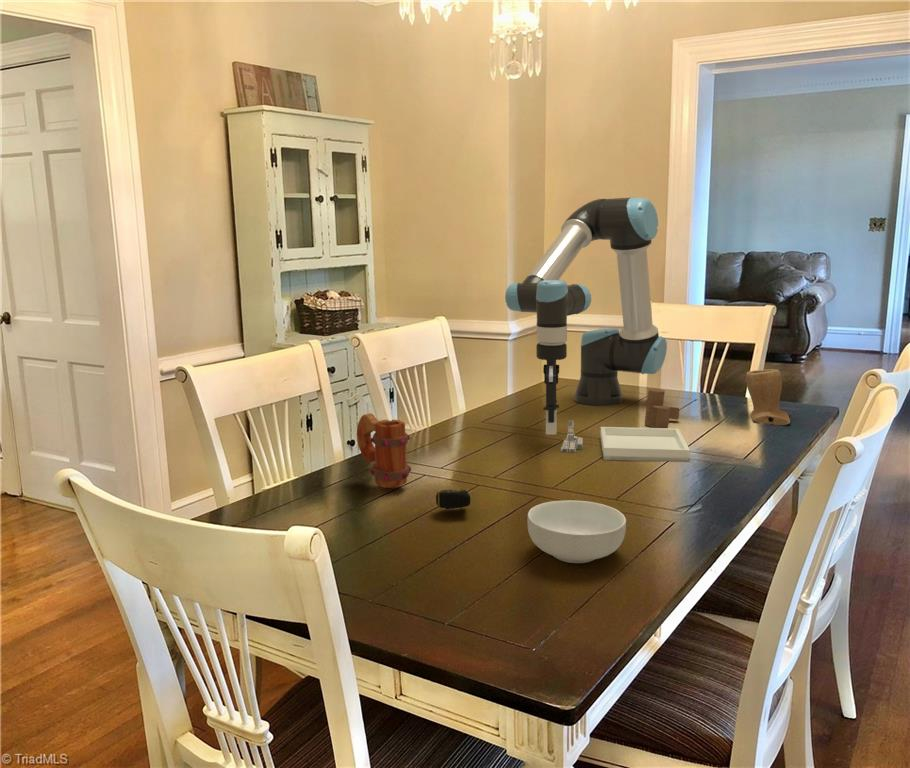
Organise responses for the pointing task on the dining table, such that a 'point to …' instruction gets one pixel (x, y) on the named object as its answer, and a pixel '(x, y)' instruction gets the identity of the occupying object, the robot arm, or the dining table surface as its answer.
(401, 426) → the mug
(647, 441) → the tray
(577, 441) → the house of cards
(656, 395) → the wooden block set
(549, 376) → the robot arm
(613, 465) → the dining table surface
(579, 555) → the cereal bowl
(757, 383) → the brown upright flared piece
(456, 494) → the tape measure
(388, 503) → the dining table surface
